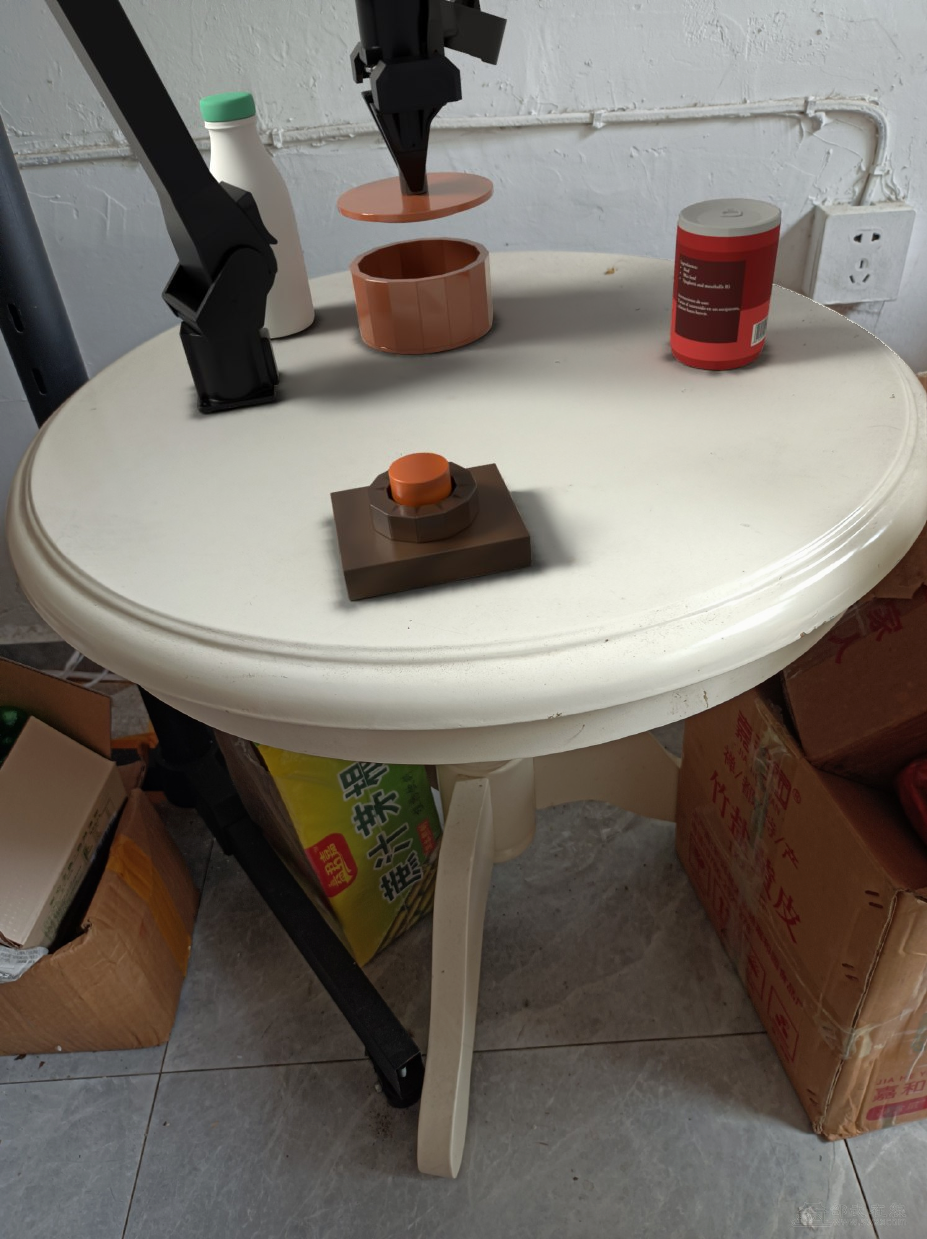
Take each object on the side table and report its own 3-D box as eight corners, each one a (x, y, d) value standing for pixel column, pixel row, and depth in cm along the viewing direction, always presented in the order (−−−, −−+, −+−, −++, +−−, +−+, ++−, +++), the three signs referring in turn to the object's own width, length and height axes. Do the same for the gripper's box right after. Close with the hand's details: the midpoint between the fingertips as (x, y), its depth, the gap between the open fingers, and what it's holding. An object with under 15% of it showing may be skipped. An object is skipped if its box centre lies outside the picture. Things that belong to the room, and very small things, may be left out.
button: (396, 513, 50) (392, 487, 49) (388, 483, 53) (384, 458, 52) (457, 502, 51) (454, 476, 50) (445, 472, 53) (442, 447, 52)
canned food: (747, 329, 75) (764, 193, 68) (776, 366, 69) (798, 221, 62) (659, 338, 75) (667, 203, 69) (680, 376, 69) (691, 232, 62)
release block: (349, 601, 50) (336, 544, 48) (335, 520, 57) (324, 467, 54) (532, 565, 51) (529, 508, 49) (497, 491, 58) (493, 437, 56)
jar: (369, 363, 77) (357, 290, 73) (354, 315, 87) (343, 249, 83) (506, 340, 78) (502, 268, 74) (476, 296, 88) (471, 230, 84)
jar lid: (347, 239, 69) (335, 168, 66) (332, 200, 80) (321, 136, 76) (511, 214, 71) (507, 143, 67) (475, 178, 81) (471, 115, 78)
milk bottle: (324, 329, 84) (278, 93, 72) (246, 347, 83) (185, 108, 70) (306, 306, 90) (260, 83, 77) (233, 322, 88) (174, 97, 76)
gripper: (525, -51, 58) (533, 199, 68) (467, -53, 72) (481, 153, 82) (361, -31, 57) (394, 220, 67) (335, -38, 71) (366, 170, 81)
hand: (414, 187), depth 74 cm, fingers closed on jar lid, 2 cm apart
